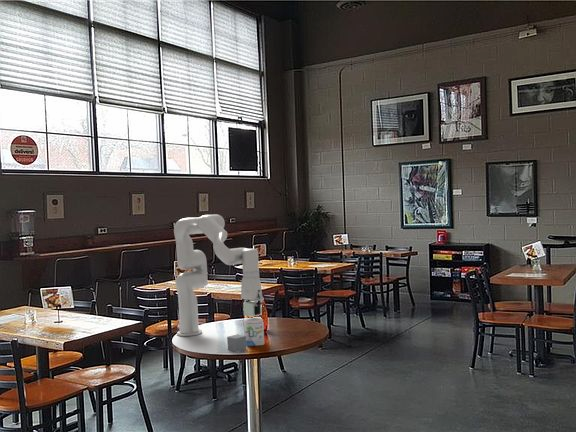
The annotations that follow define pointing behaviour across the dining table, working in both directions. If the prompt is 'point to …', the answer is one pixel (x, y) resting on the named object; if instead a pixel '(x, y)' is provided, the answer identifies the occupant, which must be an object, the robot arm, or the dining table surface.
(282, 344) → the dining table surface
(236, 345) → the slate block
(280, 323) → the dining table surface
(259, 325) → the ink box
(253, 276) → the robot arm
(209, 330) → the dining table surface
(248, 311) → the sage block
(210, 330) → the dining table surface
